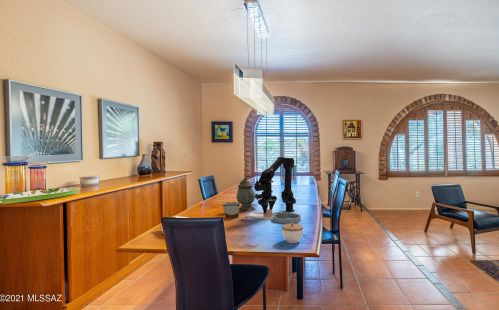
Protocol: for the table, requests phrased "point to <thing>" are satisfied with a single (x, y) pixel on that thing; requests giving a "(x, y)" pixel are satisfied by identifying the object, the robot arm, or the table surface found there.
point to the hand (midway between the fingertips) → (267, 212)
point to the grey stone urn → (245, 195)
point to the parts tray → (258, 215)
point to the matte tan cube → (268, 213)
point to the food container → (231, 209)
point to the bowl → (288, 218)
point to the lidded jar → (292, 232)
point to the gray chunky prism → (282, 215)
